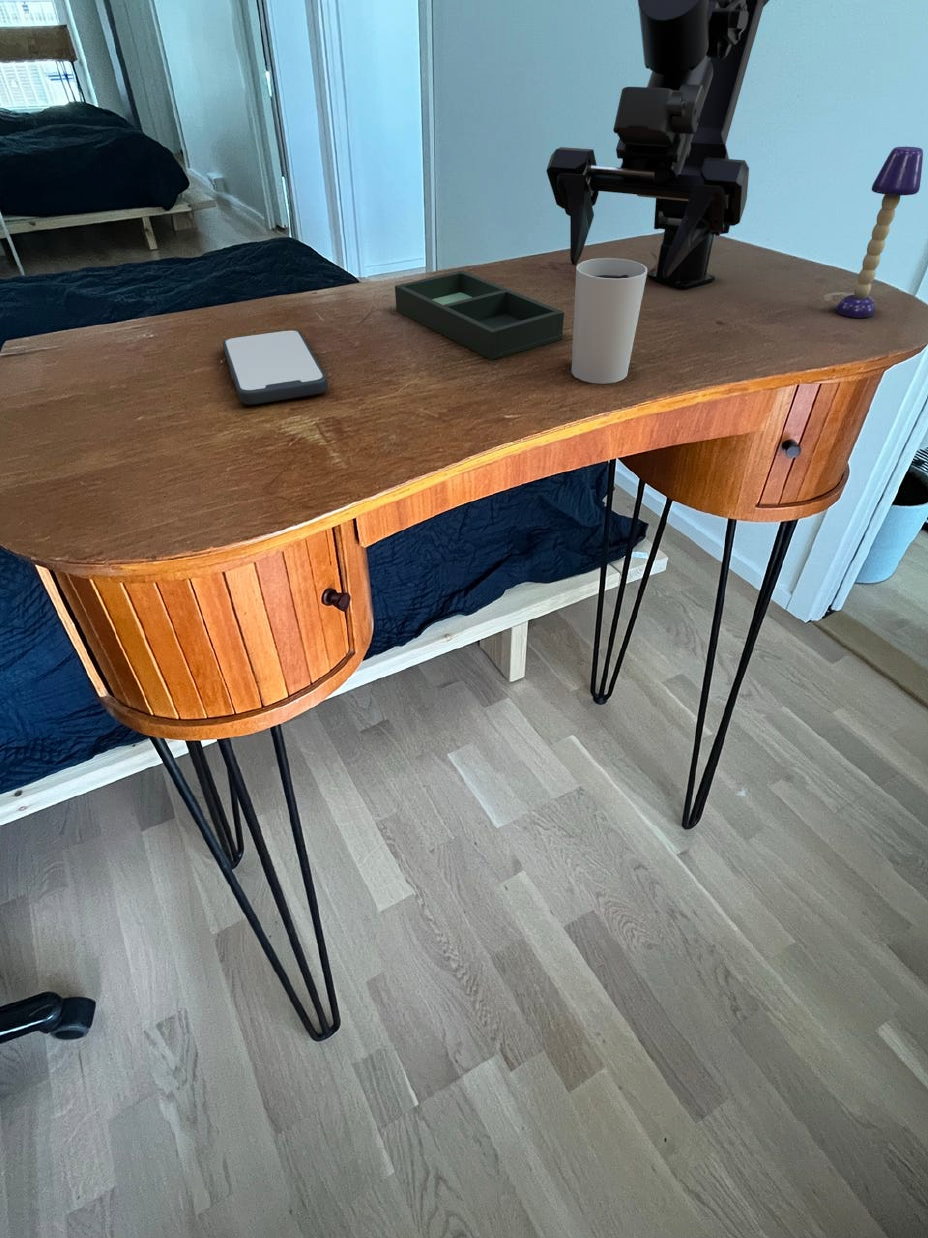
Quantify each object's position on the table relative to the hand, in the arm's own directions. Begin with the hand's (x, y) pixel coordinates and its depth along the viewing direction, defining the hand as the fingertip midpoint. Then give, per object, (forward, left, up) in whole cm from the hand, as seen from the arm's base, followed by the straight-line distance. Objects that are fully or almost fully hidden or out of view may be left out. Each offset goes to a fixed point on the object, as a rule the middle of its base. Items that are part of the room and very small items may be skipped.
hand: (617, 268), depth 69 cm
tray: (+4, -18, -9) cm, 21 cm away
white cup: (+2, +1, -10) cm, 10 cm away
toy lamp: (-35, +7, -10) cm, 37 cm away
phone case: (+29, -19, -10) cm, 36 cm away
